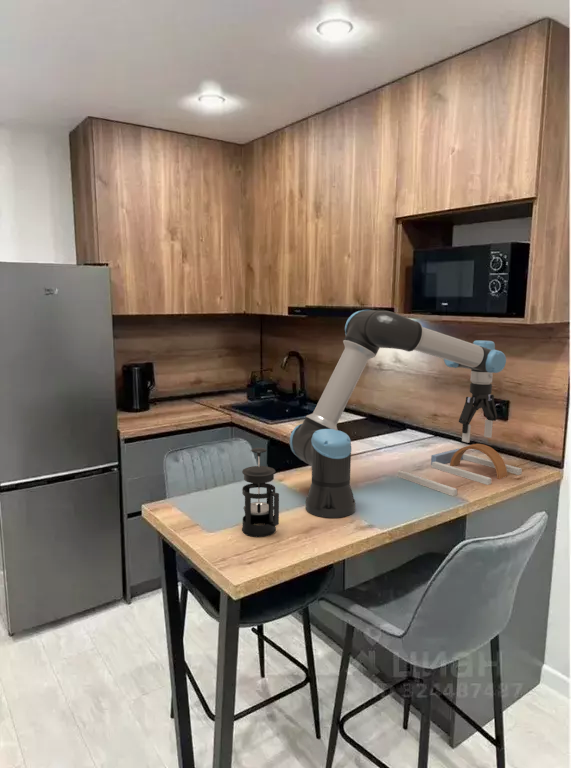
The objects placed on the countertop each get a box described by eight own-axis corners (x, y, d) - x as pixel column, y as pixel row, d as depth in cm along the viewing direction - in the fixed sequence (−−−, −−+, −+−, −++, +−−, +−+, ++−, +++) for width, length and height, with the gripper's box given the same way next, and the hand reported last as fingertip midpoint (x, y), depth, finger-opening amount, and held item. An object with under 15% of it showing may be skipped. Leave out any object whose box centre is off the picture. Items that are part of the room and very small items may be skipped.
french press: (232, 530, 145) (232, 449, 142) (255, 519, 152) (255, 442, 149) (265, 542, 138) (265, 457, 134) (287, 530, 145) (288, 449, 142)
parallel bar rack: (453, 496, 172) (453, 484, 171) (393, 475, 192) (393, 464, 192) (521, 473, 195) (522, 463, 194) (461, 457, 216) (462, 447, 215)
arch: (458, 463, 207) (459, 439, 206) (507, 476, 192) (509, 449, 191) (449, 466, 204) (451, 441, 202) (499, 479, 188) (500, 452, 187)
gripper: (469, 386, 183) (464, 446, 186) (509, 381, 197) (505, 437, 201) (451, 383, 189) (447, 441, 192) (491, 379, 203) (487, 433, 207)
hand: (476, 439), depth 196 cm, fingers open, 13 cm apart
